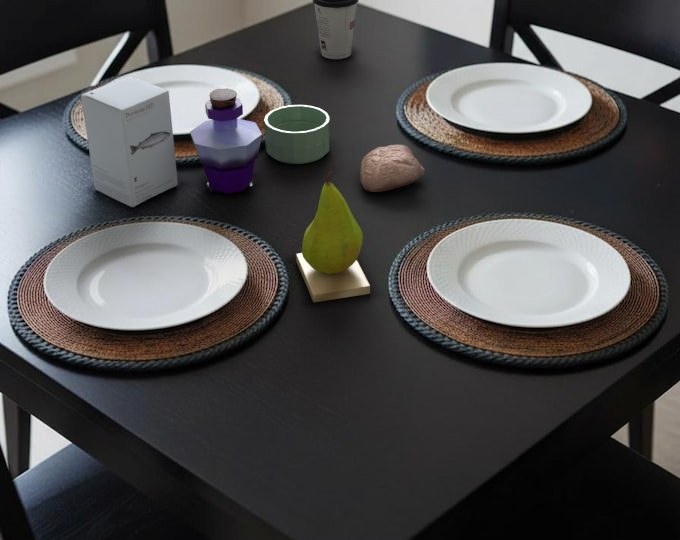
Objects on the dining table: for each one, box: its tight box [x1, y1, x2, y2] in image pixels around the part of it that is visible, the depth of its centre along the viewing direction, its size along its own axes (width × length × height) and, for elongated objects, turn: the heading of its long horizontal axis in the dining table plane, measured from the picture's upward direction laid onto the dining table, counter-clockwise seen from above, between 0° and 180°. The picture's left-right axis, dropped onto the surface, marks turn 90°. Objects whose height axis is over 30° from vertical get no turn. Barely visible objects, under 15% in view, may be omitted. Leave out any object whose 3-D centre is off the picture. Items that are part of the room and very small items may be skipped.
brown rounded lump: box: [359, 143, 425, 193], centre depth 126 cm, size 8×6×8 cm
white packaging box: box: [80, 75, 179, 208], centre depth 123 cm, size 7×7×13 cm
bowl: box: [263, 104, 331, 165], centre depth 133 cm, size 8×8×4 cm
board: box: [295, 252, 371, 303], centre depth 110 cm, size 6×8×1 cm
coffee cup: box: [312, 0, 359, 60], centre depth 159 cm, size 7×7×10 cm
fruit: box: [301, 170, 364, 274], centre depth 106 cm, size 6×6×12 cm
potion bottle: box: [189, 88, 263, 196], centre depth 124 cm, size 9×9×12 cm
